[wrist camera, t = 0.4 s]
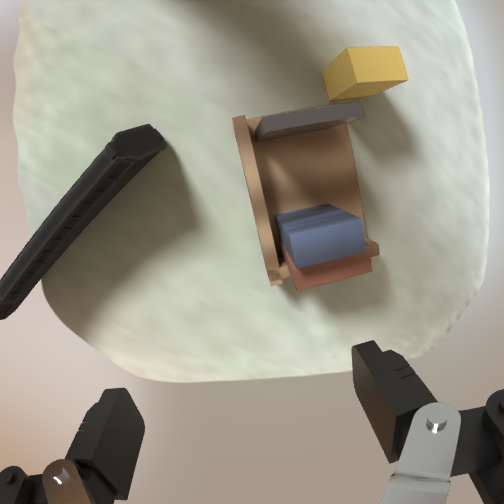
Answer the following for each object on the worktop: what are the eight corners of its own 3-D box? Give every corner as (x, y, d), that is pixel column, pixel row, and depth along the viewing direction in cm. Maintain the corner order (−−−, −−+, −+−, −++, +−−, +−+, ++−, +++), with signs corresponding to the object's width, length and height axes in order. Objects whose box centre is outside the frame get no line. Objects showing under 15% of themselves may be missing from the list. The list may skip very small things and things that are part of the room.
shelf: (232, 124, 33) (231, 105, 22) (337, 105, 33) (378, 83, 22) (266, 270, 38) (279, 314, 27) (363, 247, 37) (408, 279, 26)
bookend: (254, 131, 32) (262, 116, 22) (327, 118, 32) (361, 101, 22) (257, 142, 32) (265, 132, 23) (329, 128, 32) (364, 116, 23)
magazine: (151, 96, 24) (-57, 330, 19) (175, 123, 24) (-37, 355, 20) (150, 141, 40) (4, 292, 35) (165, 158, 41) (18, 309, 36)
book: (322, 72, 32) (347, 47, 23) (364, 68, 32) (398, 46, 23) (329, 100, 33) (357, 82, 24) (372, 95, 33) (408, 79, 24)
